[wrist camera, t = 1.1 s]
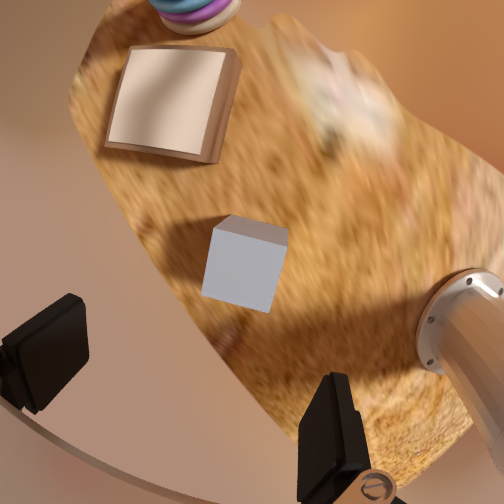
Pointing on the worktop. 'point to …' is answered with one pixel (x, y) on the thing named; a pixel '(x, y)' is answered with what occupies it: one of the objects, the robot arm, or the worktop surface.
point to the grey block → (245, 262)
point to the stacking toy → (195, 14)
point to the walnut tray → (174, 101)
